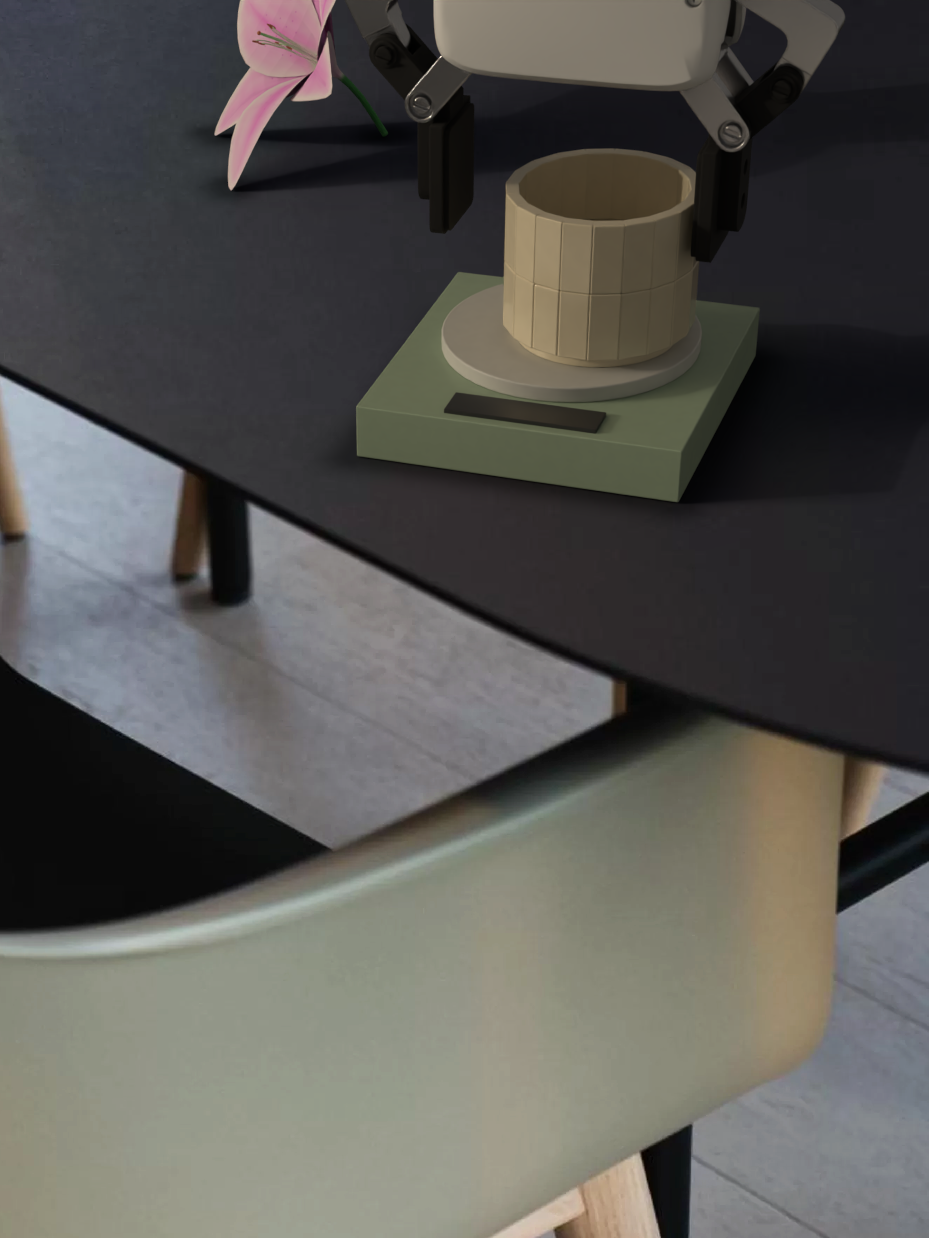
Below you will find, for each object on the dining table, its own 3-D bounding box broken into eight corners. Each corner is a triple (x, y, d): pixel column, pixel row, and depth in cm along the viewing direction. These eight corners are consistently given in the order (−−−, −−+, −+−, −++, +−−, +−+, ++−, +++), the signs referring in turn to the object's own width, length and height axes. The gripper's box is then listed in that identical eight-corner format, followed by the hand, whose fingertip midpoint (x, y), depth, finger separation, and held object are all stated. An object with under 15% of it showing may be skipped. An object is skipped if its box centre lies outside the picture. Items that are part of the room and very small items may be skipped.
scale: (755, 356, 97) (761, 291, 95) (678, 503, 89) (683, 435, 87) (457, 318, 101) (458, 256, 99) (356, 456, 92) (355, 390, 91)
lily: (267, 104, 122) (165, -58, 115) (487, 21, 116) (393, -155, 109) (228, 277, 116) (118, 116, 109) (458, 198, 110) (356, 24, 103)
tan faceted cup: (712, 302, 95) (724, 158, 91) (666, 384, 90) (676, 234, 86) (532, 281, 97) (537, 139, 93) (478, 359, 92) (480, 213, 88)
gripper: (895, -308, 80) (839, 216, 91) (379, -327, 85) (386, 170, 96) (847, -246, 75) (795, 302, 86) (301, -270, 80) (318, 249, 91)
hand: (578, 232), depth 91 cm, fingers open, 9 cm apart
